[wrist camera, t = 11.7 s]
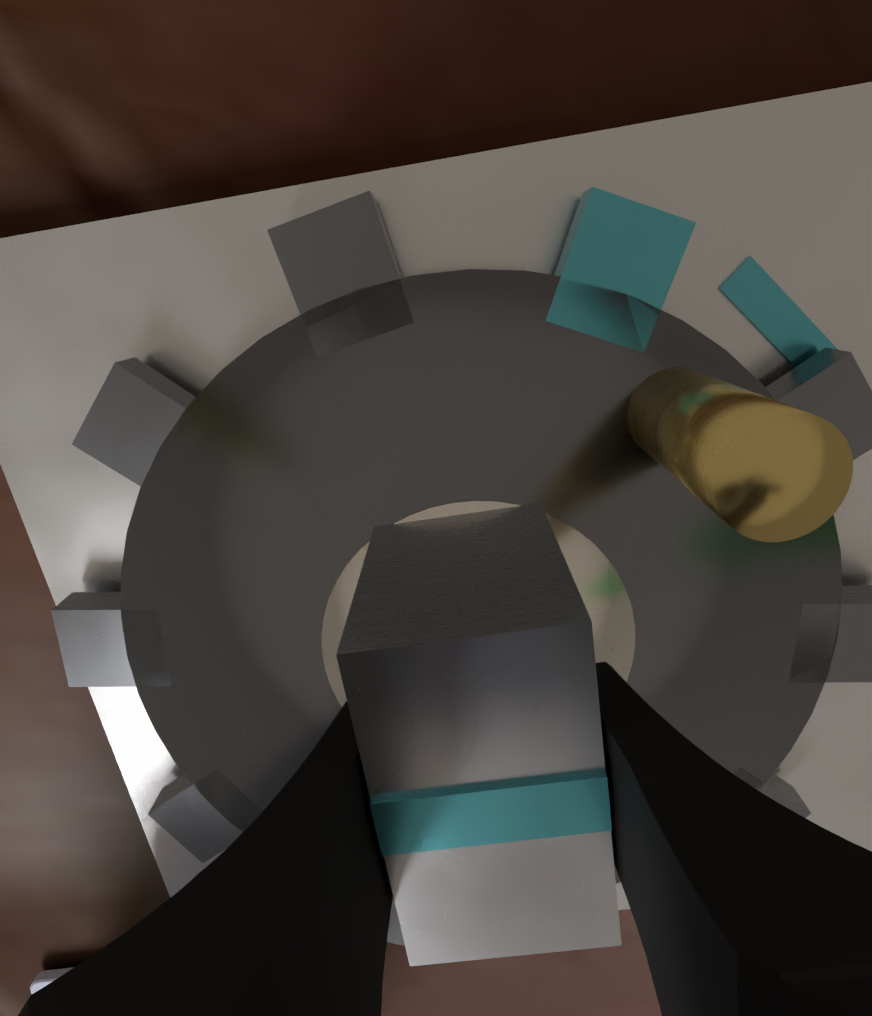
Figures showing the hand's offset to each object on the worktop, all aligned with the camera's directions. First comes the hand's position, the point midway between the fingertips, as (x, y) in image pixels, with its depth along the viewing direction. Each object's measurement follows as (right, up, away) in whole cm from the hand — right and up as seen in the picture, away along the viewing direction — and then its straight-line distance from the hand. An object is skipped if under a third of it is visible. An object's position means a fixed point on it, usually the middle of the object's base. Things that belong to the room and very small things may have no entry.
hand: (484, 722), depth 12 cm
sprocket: (0, +1, +3) cm, 4 cm away
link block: (0, +1, +2) cm, 3 cm away
